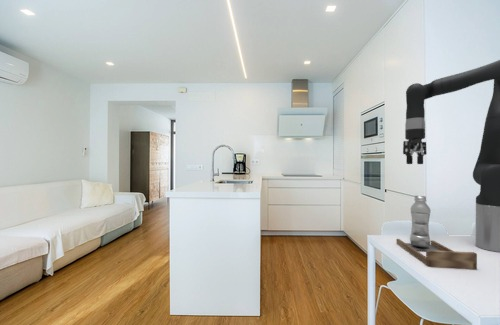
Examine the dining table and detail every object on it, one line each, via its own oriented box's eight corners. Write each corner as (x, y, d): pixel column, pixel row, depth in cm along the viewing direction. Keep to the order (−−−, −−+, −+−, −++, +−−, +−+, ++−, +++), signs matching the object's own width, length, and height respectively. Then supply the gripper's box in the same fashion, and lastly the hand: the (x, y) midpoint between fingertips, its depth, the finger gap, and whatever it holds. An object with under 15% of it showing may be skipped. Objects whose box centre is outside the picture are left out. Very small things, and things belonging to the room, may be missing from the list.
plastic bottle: (406, 243, 98) (406, 195, 98) (423, 244, 97) (423, 195, 97) (416, 249, 91) (416, 197, 91) (434, 249, 91) (434, 197, 91)
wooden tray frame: (433, 245, 97) (433, 233, 97) (476, 269, 75) (476, 253, 75) (396, 243, 99) (396, 231, 99) (428, 266, 77) (428, 251, 77)
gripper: (414, 126, 102) (414, 164, 102) (432, 128, 109) (432, 164, 109) (397, 128, 109) (397, 164, 109) (415, 130, 115) (415, 164, 115)
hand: (414, 164), depth 109 cm, fingers open, 8 cm apart
